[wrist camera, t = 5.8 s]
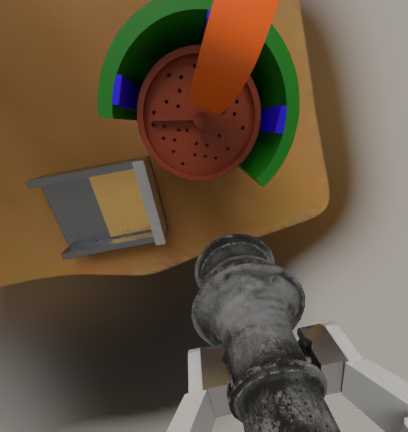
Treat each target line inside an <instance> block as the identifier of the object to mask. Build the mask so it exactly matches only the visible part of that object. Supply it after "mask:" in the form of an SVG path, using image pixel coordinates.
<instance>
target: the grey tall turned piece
mask: <svg viewBox="0 0 408 432" xmlns="http://www.w3.org/2000/svg"><path fill="white" fill-rule="evenodd" d="M195 278H196V282H197V284H198V286H199V288H200V289H199V291H198V293H197V295H196V297H195V299H194V302H193V306H192V315H191V316H192V321H193V324H194V328H195V329H196V331H197V333H198V334H199V336H200V337H201V338H202V339H204V340H205V341H206V342H207V343H209V344H210V345H212V346H213V345H219V344H223V346H224V350H226V351H227V354H228V357H229V362H230V368H231V373H232V378H233V384H234V385H233V387H232V388H231V390H230V392H229V396H228V404H229V409H230V411H231V413H232V414H233V416H234V417H235V418H237V419H238V420H240V421H241V422H243V424H244V430H245V432H340V430H339V428H338V426H337V424H336V422H335V420H334V418H333V416H332V414H331V412H330V410H329V408H328V406H327V404H326V402H325V400H324V397H325V395H326V392H327V384H328V383H327V380H326V377H325V375H324V373H323V372H322V371H321V370H320V369H319V368H318V367H317V366H315V365H313V364H311V363H309V362H307V360H306V358H305V356H304V354H303V352H302V350H301V348H300V346H299V344H298V342H297V340H296V338H295V337H294V335H293V332H292V330H293V329H294V328H295V326H296V325H297V323H298V322H299V320H300V319H301V316H302V314H303V311H304V308H305V294H304V291H303V288H302V286H301V284H300V282H299V281H298V280H297V279H296V277H295V276H294V275H293V274H292V273H290V272H288V271H287V270H285V269H284V268H282V267H280V266H277V265H275V263H274V257H273V255H272V252H271V250H270V249H269V248H268V247H267V245H266V244H265V243H264V242H262V241H261V240H259V239H258V238H256V237H253V236H249V235H245V234H233V235H228V236H224V237H221V238H219V239H217V240H214V241H213V242H212V243H210V244H209V245H208V246H206V247H205V248H204V250H203V251H202V252H201V253H200V255H199V257H198V259H197V262H196V264H195Z"/></svg>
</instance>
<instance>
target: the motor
mask: <svg viewBox="0 0 408 432" xmlns="http://www.w3.org/2000/svg"><path fill="white" fill-rule="evenodd" d="M278 2H279V0H153V1H151V2H150V3H148V4H147V5H145V6H144V7H142V8H141V9H140V10H138V11H137V12H136V13H135V14H134V15H133V16H132V17H131V18H130V19H129V20H128V21H127V22H126V23H125V24H124V26H123V27H122V28H121V29H120V31H119V32H118V34H117V35H116V37H115V38H114V40H113V42H112V44H111V46H110V48H109V50H108V52H107V55H106V57H105V60H104V63H103V66H102V70H101V75H100V80H99V88H98V111H99V117H105V118H114V119H127V120H137V121H138V128H139V132H140V135H141V138H142V141H143V143H144V145H145V147H146V149H147V150H148V152H149V153H150V155H151V156H152V158H153V159H154V160H155V161H156V162H157V163H158V164H159V165H160V166H161V167H162V168H164V169H165V170H166V171H168V172H170V173H171V174H173V175H175V176H178V177H180V178H183V179H187V180H193V181H206V180H212V179H216V178H219V177H221V176H224V175H226V174H228V173H229V172H231V171H232V170H234V169H235V168H236V167H237V166H238V167H239V168H240V169H242V170H243V171H244V172H245V173H246V174H248V175H249V176H250V177H251V178H253V179H254V180H255V181H256V182H257V183H259V184H260V185H261V186H262V187H264V186H265V185H266V184H267V183H268V182H269V181H270V180H271V178H272V177H273V176H274V175H275V174H276V172H277V171H278V169H279V168H280V167H281V165H282V163H283V162H284V160H285V158H286V156H287V154H288V152H289V150H290V147H291V145H292V142H293V139H294V136H295V132H296V128H297V123H298V116H299V87H298V80H297V75H296V71H295V67H294V64H293V61H292V58H291V56H290V53H289V51H288V49H287V47H286V45H285V43H284V42H283V40H282V38H281V37H280V35H279V34H278V32H277V31H276V29H275V28H274V27H273V26H272V24H271V23H272V20H273V17H274V14H275V11H276V8H277V5H278Z"/></svg>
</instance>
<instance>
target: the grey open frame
mask: <svg viewBox="0 0 408 432" xmlns="http://www.w3.org/2000/svg"><path fill="white" fill-rule="evenodd" d="M26 183H27V185H28V187H29V189H30V188H35V187H40V186H41V187H42V189H43V191H44V194H45V196H46V198H47V200H48V202H49V204H50V207H51V209H52V211H53V213H54V215H55V217H56V220H57V222H58V224H59V226H60V228H61V230H62V232H63V235H64V237H65V239H66V241H67V243H68V245H69V246H68V247H67V248H66V249H65V250H64V251H63V252H62V253H61V255H62V257H63V260H64V259H69V258H74V257H80V256H85V255H90V254H95V253H101V252H106V251H111V250H116V249H122V248H127V247H132V246H137V245H143V244H148V243H153V242H155V244H156V246H157V245H162V244H166V240H167V234H168V227H167V223H166V219H165V215H164V211H163V208H162V204H161V200H160V196H159V192H158V188H157V184H156V181H155V177H154V173H153V169H152V165H151V161H150V158H149V156H145V157H140V158H135V159H129V160H124V161H119V162H113V163H108V164H103V165H98V166H92V167H87V168H82V169H76V170H71V171H66V172H60V173H55V174H50V175H45V176H41V177H38V178H35V179H32V180H29V181H26Z"/></svg>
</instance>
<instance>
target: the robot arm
mask: <svg viewBox="0 0 408 432" xmlns="http://www.w3.org/2000/svg"><path fill="white" fill-rule="evenodd" d="M297 335H298V336H299V338H300V339H299V340H298V344H299V346H300V348H301V350H302V352H303V354H304V356H305V358H306V360H307V362H309V363H311V364H313V365H315V366H317V367H318V368H319V369H320V370H321V371H322V372H323V373H324V375H325V377H326V380H327V383H328V384H327V392H326V395H327V394H333V393H339V392H342V394H343V395H344V396H345V397H346V398H347V399H348V400H350V401H351V402H352V403H353V404H354V405H355V406H357V407H358V408H359V409H360V410H361V411H362V412H363V413H364V414H366V415H367V416H368V417H369V418H370V419H371V420H372V421H374V422H375V423H376V424H377V425H378V426H380V428H382V429H383V430H384V431H385V432H408V382H406V381H405V380H403V379H401V378H400V377H398V376H396V375H395V374H393V373H391V372H390V371H388V370H386V369H385V368H383V367H381V366H380V365H378V364H376V363H375V362H373V361H371V360H370V359H368V358H362V357H361V355H360V354H359V353H358V351H357V350H356V349H355V347H354V346H353V345H352V343H351V342H350V341H349V340H348V338H347V337H346V336H345V334H344V333H343V332H342V330H341V329H340V328H339V327H338V325H337V324H336V323H335V322H328V323H323V324H317V325H312V326H307V327H302V328H298V330H297ZM230 390H231V383H230V377H229V372H228V366H227V361H226V356H225V351H224V346H223V344H219V345H213V346H207V347H202V348H196V349H191V350H189V351H188V392H189V393H187V394H185V395H184V397H183V399H182V401H181V403H180V405H179V407H178V409H177V411H176V413H175V415H174V417H173V419H172V421H171V423H170V425H169V427H168V430H167V431H166V432H211V430H212V427H213V424H214V421H215V417H219V416H223V415H227V414H232V413H231V411H230V409H229V404H228V396H229V392H230Z"/></svg>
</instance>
